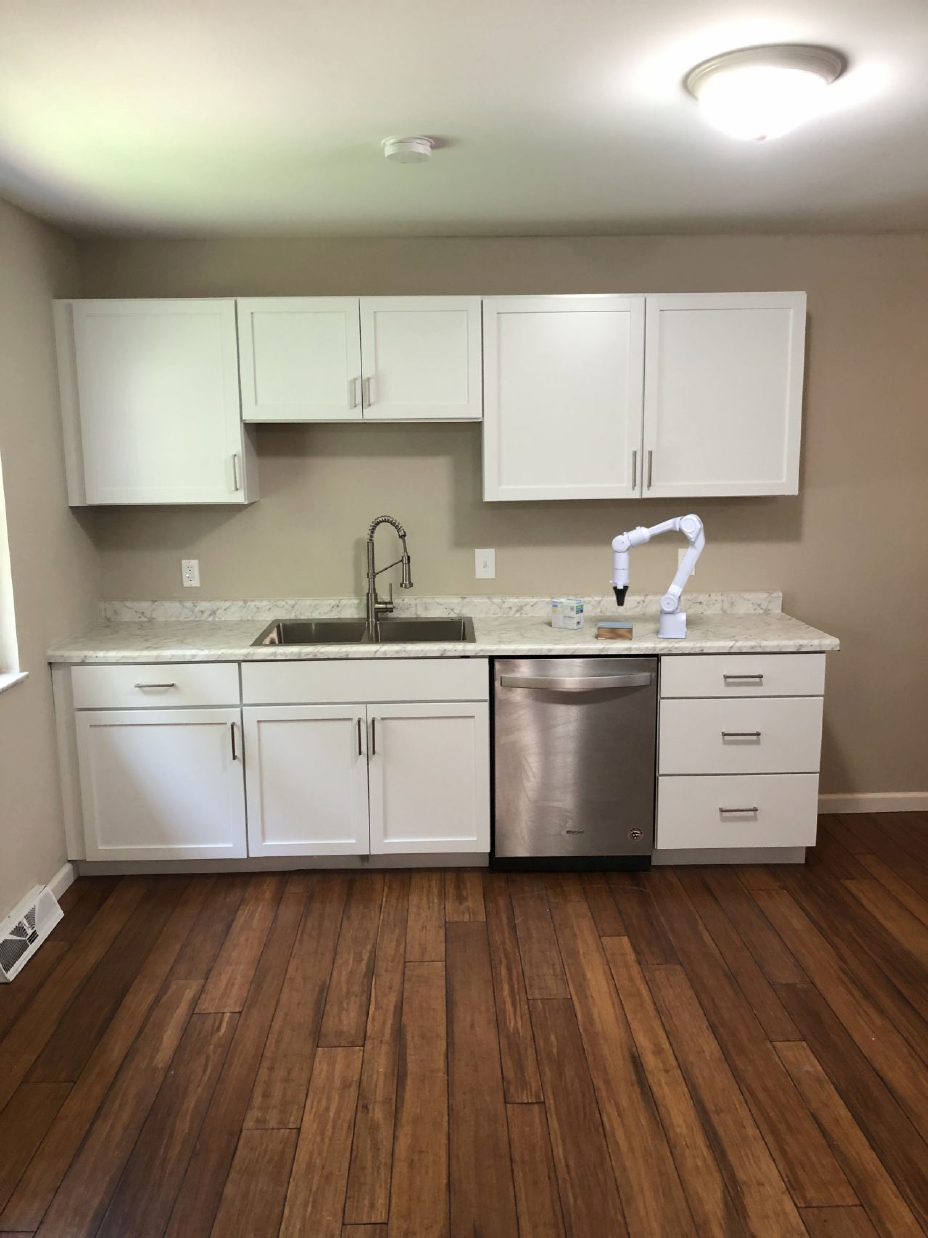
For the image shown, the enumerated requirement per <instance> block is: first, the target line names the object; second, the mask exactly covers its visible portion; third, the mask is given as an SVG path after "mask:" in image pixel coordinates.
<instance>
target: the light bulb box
mask: <svg viewBox="0 0 928 1238" xmlns="http://www.w3.org/2000/svg"><path fill="white" fill-rule="evenodd" d="M584 602H585V601H584V599H577V598H575V599H574V598H561V597H559V598H555V599H551V628H555V629H566V630H579V629H582V628H584V626H585V625H584V623H585V621H584V617H585V616H584V615H585V614H584V611H585V610H584Z"/></svg>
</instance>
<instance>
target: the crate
mask: <svg viewBox="0 0 928 1238" xmlns="http://www.w3.org/2000/svg"><path fill="white" fill-rule="evenodd" d="M633 628H634V626H632V628H601V627H597V629H596V630H597V633H596V634H597V636H596V637H597V638H605V639H629V640H628V641H632V640H633V636H634V635H633V634H634V633H633V631H634V630H633ZM597 638H596V639H597ZM605 639H604V640H605Z"/></svg>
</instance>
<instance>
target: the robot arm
mask: <svg viewBox="0 0 928 1238" xmlns="http://www.w3.org/2000/svg"><path fill="white" fill-rule="evenodd" d="M669 531H682V533H684V535H685V536H686V538H687V540H688V542H689V546H688V548H687V551H686V552H685V555H684V557H683V558H682V561H681V563H680V566H679V567H678V569H677V572H676V573H675V576H674V578H673V580H672V582H671V584H670V586H669V588H668V590H667V592H666V593H665V594H664V595H662V597H661V598H660V599H659V607H660V609H659V624H658V625H659V627H658V629H659V631H658V633H657V637H658V638H659V639H660V638H661V639H686V634H687V627H686V625H687V621H686V620H687V613H686V612H683V611H682V612H681V609H680V608H679V606H680V604H681V602H682V601H681V597H682V595H683V592H684V589H685V586H686V585H687V583H688V581H689V579H690V577H691V575H692V573H693V570H694V568H695V567H696V565H697V562H698V560H699V558H700V556H701V553H702V551H703V549H704V547H705V545H706V538H705V531H704V524H703V522H702V520H701V518H700V517H699V516H698V515H697V514H695V513H694V514H693V513H690V514H687V515H685V516H684V515H683V516H682V515H681V516H679V517H674V518H671V519H669V520H666V521H664V522H661V523H659V524H657V525H656V524H655V525H654V526H652V527H648V528H647V527H645V526H637V527H635V529H632V530H631V531H628V532H627V531H624V532H622V533H623V534H621V535H617V536H615V537H614V538H613V539H612V542H611V547H612V549H613V551H612V553H613V556H612V580H611V579H610V580H609V584H614V585H615V586H612V590H613V592H614V595H615V601H616V604H617V607H624V605H625V600H626V595H627V592H628V590H629V587H630V586H629V585H628V584H630V580H629V579H630V555H629V554H630V550H629V549H630V548H635V547H638V546H641V545H644V544H645V543H649V541H650V539H651V538H652V537H654V536H656V535H660V534H662V533H665V532H669ZM658 638H657V639H658Z"/></svg>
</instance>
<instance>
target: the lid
mask: <svg viewBox="0 0 928 1238" xmlns="http://www.w3.org/2000/svg"><path fill="white" fill-rule="evenodd" d="M633 625H634V622H625V621H621V622H619V621H616V622H615V621H598V624H597V628H598V627H601V628H632V626H633ZM633 627H634V626H633Z"/></svg>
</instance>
